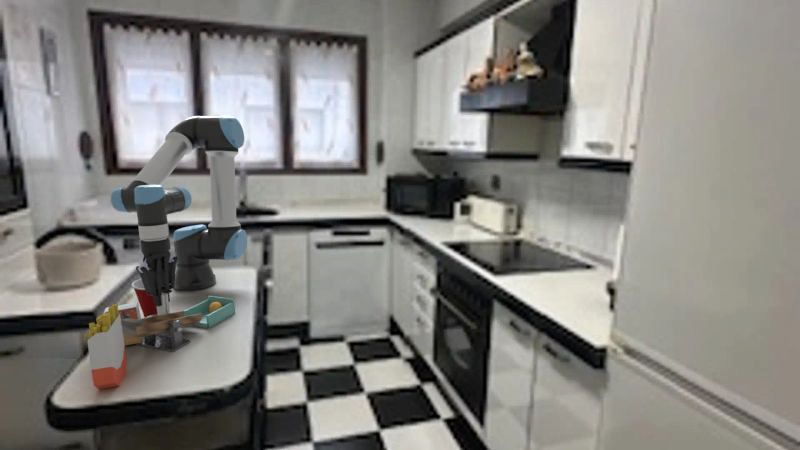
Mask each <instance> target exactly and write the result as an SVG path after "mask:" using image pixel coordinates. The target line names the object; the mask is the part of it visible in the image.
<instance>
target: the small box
mask: <svg viewBox="0 0 800 450" xmlns="http://www.w3.org/2000/svg"><path fill="white" fill-rule="evenodd" d="M109 307H110V306H108V307H105V309H104V311H103V313H102V314H104V313H105V312H107V311H109V309H108V308H109ZM140 310H141V309H140V304H139V301H133V302H130V303H125V304H118V313H120V317H121V319H126V318H129V319H135V320H137V319H142V317H141V311H140ZM123 338H124V345H125V346H130V345H134V344H136V345H137V343H141V342H143V340H144V337H140V338H136V339H134V338H129V337H123Z"/></svg>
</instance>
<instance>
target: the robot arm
mask: <svg viewBox="0 0 800 450" xmlns="http://www.w3.org/2000/svg"><path fill="white" fill-rule="evenodd" d="M244 144H245V133H244V129H243V126H242V124H241V123H240V121H239V120H238V119H237V118H236V117H235V116H232V115H222V114H221V115H202V116H201V115H195V116H194V115H193V116H191V117H188V118H186V119H184V120H182V121H181V122H179V123H178V124H176V125H175V126H174V127H172V129H170V131H169V132H168V133H167V134H166V136H165V138H164V143H163V144H162V145H161V146H160V147H159V148H158V150H157V151H156V152H155V153H154V154H153V156H152V157H151V158H150V159H149V161H148V162H147V163H145V165H144V166H143V168H142V169H141V170H140V171H139V172H138V174H137V175H136V176H135V177H134V179H133V180H132V181H131V182H130V183H129V184H128V186H127V187H119V188H116V189H114V190H113V191H112V192H111V195H110V203H111V206H112V208H114V210H115V211H117V212H121V213H130V214H132V213H136V216H137V226H138V234H139V239H141V240H140V242H139V243H140V251H141V254H143V258H142V263H141V264H140V265H136V267H135V270H136V271H137V273H138V274H139V276H140V279H142V282H143V285H144V288H145V291H146V294H147V295H150V296H154V303H155V306H157V314H158V315H163V314H168V313H171V310H170V301H171V298H170V297H171V296H170V294H171V293H172V292H173V289H175V290H177V291H181V292H182V291H184V292H185V291H187V292H189V291H190V292H191V291H199V290H203V289H206V288H209V287H212V286H214V285H216V283H217V277H216V275H215V273H214V270H213V267H212V266H211V263H210V260H213V261H215V260H216V261H217V260H218V261H236V260H239V259H241V258H242V257H243V256H244V254H245V252H246V250H247V247H248V235H247V232H246V230H244V229H242V227H241V226H242V225H241V223H240V222H239V221H238V220H237V201H236V195H237V194H236V193H237V192H236V171H235V166H236V165H235V163H236V162H235V158H236V156H237V155H238V154H239V149H240V148H242V147H243V146H244ZM199 148H200V149H201V148H202V149H204V153H205V154H206V155H207V156H208V157H209V174H210V176H209V177H210V195H211V196H210V199H211V200H210V201H211V222H209V224H208V225H206V224H196V225H189V226H185V227H181V228H178V229H176V230H174V232H173V235H172V237H173V245H174V254H175V255H172V254H171V251H170V250H171V240H170V238H169V236H170V231H169V224H168V222H169V221H168V215H171V214H174V213H175V214H176V213H180V212H183V211H185V210H187V209H188V208H189V207H190V206H191V204H192V199H193V198H192V194H191V193H190V191H189V190H187V189H186V188H185V187H181V186H179V187H178V186H177V187H176V186H175V187H173V186H172V187H167V188H164V186H163V184H164V183H165V182H166V181H167V179H168V178H169V177H170V175H171V174H172V173H173V171H174V170H175V169H176V168H177V166H178V165H179V163H180V162H181V161H182V160H183V158H184V157H185V156H186V155H189V154H191V153H192V151H193V150H195V149H199Z"/></svg>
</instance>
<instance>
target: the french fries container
mask: <svg viewBox="0 0 800 450" xmlns="http://www.w3.org/2000/svg"><path fill="white" fill-rule="evenodd" d="M118 306H119V304H118V303H113V304H111V306H108V307H109V308H108V309H109V311H107V312H105V313H104V312H103V313H104V314H103V313H102V314H101V315H98V316H97V317H96V319H95V320H96V323H95V322H90V323H88V327H89V332H88V333H87V337H88V340H87V347H88V355H89V362H90V369H91V377H92V383H93V386H94V387H95V389H98V390H103V389H109V388H115V387H120V386H121V384H122V382H123V380H124V378H125V376H126V371H127V352H126V345H124V338H123V331H122V324H121V317H120V313H118Z"/></svg>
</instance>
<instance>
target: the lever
mask: <svg viewBox="0 0 800 450" xmlns="http://www.w3.org/2000/svg"><path fill="white" fill-rule="evenodd" d="M184 311H185V310H180V311H175V312H170V313H168V314H163V315H158V314H156V315H150V316H153V317H148V318H145V317H143V318H142V317H141V319H137V320H135V319H129V318H126V319H121V324H122V331H123V337H129V338H134V339H136V338H140V337H143V338H144V336H148V335H152V334H157V335H158V334H161V333H164V332H170V327H169V323H171V322H173V321H175V320H180V325H181V328H182V329H183V328H185V327H190V326H191V325H194V324H199V323H200V320H202V313H199V314H195V315H190V316H185V317H184Z"/></svg>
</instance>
